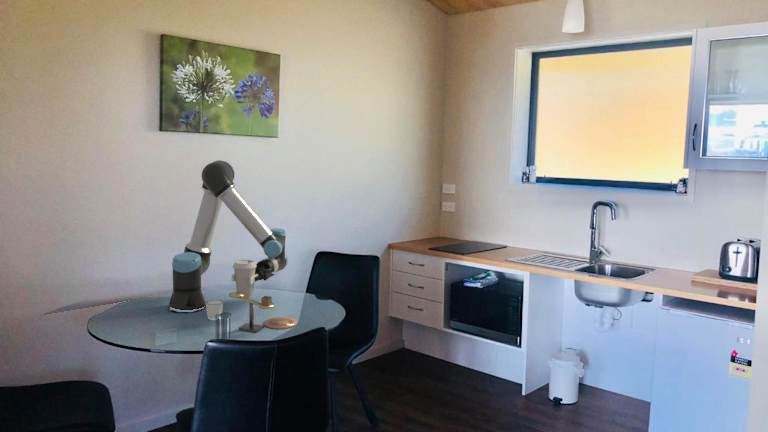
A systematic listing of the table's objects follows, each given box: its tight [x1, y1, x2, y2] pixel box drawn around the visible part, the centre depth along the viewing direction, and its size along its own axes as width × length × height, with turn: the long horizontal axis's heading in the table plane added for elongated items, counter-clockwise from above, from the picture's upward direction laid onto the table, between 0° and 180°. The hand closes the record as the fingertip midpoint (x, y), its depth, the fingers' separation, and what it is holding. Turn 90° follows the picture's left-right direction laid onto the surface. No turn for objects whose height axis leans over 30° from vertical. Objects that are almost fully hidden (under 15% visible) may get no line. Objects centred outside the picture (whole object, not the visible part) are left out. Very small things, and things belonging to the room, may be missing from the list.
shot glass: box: [205, 299, 224, 318], centre depth 256 cm, size 7×7×7 cm
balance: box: [228, 291, 275, 334], centre depth 245 cm, size 19×6×14 cm, turn 75°
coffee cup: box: [232, 259, 257, 300], centre depth 255 cm, size 10×10×15 cm
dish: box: [264, 316, 298, 330], centre depth 253 cm, size 13×13×1 cm
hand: (241, 279), depth 251 cm, fingers closed on coffee cup, 7 cm apart
